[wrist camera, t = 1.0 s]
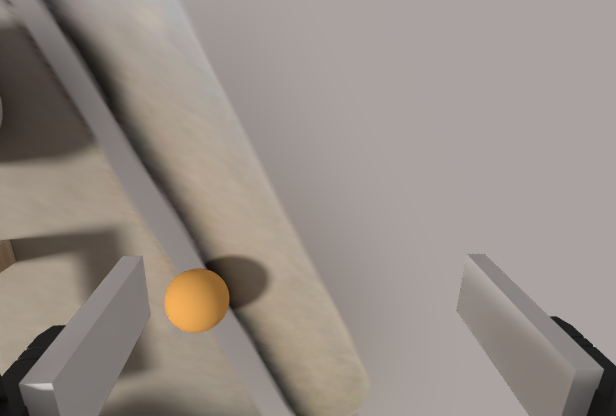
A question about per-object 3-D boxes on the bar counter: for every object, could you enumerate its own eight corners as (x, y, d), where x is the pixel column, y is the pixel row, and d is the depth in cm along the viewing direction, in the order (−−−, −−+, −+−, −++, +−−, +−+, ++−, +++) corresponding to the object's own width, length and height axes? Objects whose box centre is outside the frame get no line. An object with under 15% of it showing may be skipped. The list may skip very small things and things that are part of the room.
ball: (232, 308, 39) (234, 337, 34) (174, 319, 38) (166, 351, 33) (224, 255, 38) (224, 277, 33) (164, 265, 37) (154, 289, 32)
